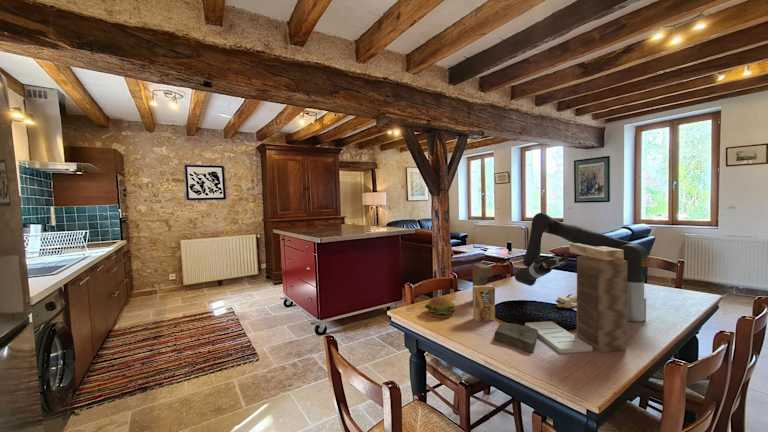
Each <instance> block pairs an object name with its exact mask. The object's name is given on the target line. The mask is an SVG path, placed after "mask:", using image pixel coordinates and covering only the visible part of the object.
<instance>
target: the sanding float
mask: <svg viewBox="0 0 768 432" xmlns="http://www.w3.org/2000/svg"><path fill="white" fill-rule="evenodd" d="M569 253H571V254H575V255H579V256H586V258H590V259H594V260H598V261H602V262H621V261H623V259H624V250H621V249H615V248H610V247H605V246H600V247H594V246H589V245H584V244H579V243H572V242H571V243H569Z"/></svg>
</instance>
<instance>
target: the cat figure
mask: <svg viewBox="0 0 768 432" xmlns="http://www.w3.org/2000/svg"><path fill="white" fill-rule="evenodd" d="M572 295H573V293H570V294H568V295H566V296H565V297H564V296H558V297H557V298H556V299H555V302H556V303H555V305H556V306H557V307H558V308H566V309H571V308H572V307H574V306H575V304H577V295H573V296H572Z"/></svg>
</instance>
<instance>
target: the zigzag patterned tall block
mask: <svg viewBox="0 0 768 432" xmlns="http://www.w3.org/2000/svg"><path fill="white" fill-rule="evenodd" d="M576 296H577V303H576V337H577V338H579V339H581V340H582V341H584V342H585V343H587V344H588V345H590V346H592V349H594V350H596V351H597V352H599V353H605V352H606V353H607V352H608V353H609V352H619V351H622V352H623V351H627V340H628V338H627V336H628V332H627V331H628V329H627V327H628V326H627V325H628V323H627V322H628V321H627V261H624V260H623V261H621V262H602V261H598V260H594V259H590V258H586V256H583V255H579V256H578V255H577V256H576Z"/></svg>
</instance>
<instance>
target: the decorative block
mask: <svg viewBox="0 0 768 432" xmlns="http://www.w3.org/2000/svg"><path fill="white" fill-rule="evenodd" d="M491 277H493V267H492V266H489V265H487V264H484V263H473V264H472V287H473V286H482V285H488V284H487V282H488V279H489V278H491Z"/></svg>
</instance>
